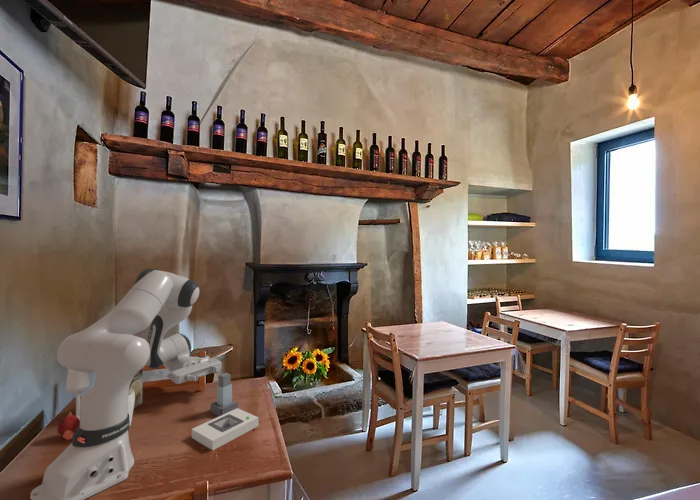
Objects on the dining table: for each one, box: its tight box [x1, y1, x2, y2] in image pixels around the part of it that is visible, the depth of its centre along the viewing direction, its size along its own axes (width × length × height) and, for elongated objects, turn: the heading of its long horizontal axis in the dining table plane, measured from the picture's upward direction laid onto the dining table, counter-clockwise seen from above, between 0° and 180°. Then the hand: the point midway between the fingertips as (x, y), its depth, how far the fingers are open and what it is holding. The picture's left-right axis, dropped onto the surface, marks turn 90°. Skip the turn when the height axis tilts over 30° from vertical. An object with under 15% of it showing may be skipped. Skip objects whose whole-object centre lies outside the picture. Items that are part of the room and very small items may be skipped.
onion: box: [57, 412, 80, 437], centre depth 113 cm, size 6×6×8 cm
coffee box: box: [129, 367, 144, 410], centre depth 133 cm, size 9×6×16 cm
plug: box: [216, 372, 233, 408], centre depth 131 cm, size 4×4×14 cm
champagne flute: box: [65, 368, 90, 420], centre depth 123 cm, size 7×7×24 cm
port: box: [191, 407, 260, 451], centre depth 116 cm, size 18×12×3 cm, turn 145°
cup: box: [128, 388, 135, 426], centre depth 119 cm, size 9×9×12 cm
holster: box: [210, 400, 239, 417], centre depth 131 cm, size 7×8×3 cm
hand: (207, 375), depth 139 cm, fingers open, 8 cm apart
